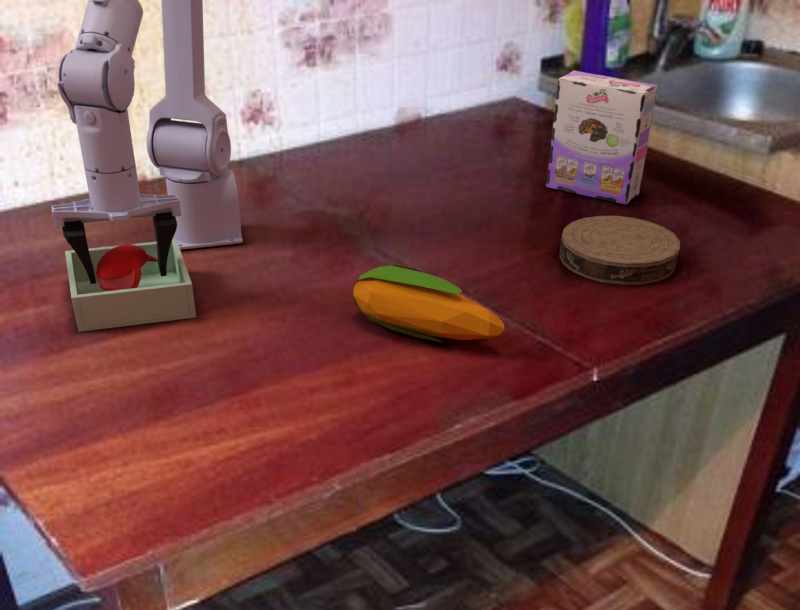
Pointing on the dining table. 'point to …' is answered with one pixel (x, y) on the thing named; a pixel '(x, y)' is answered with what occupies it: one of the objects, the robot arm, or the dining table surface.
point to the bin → (131, 292)
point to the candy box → (600, 136)
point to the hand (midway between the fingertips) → (128, 276)
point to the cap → (122, 267)
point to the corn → (422, 305)
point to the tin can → (619, 250)
